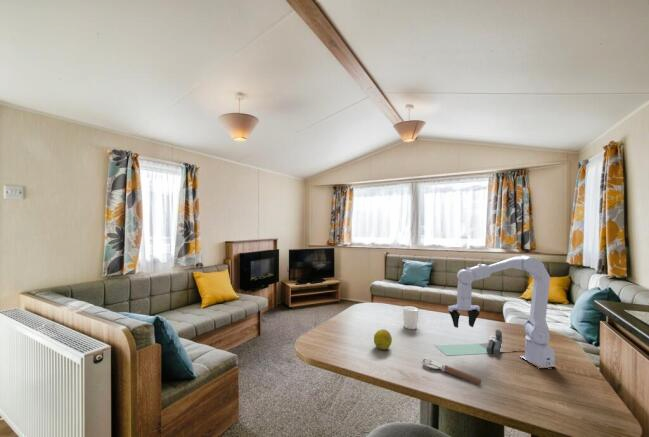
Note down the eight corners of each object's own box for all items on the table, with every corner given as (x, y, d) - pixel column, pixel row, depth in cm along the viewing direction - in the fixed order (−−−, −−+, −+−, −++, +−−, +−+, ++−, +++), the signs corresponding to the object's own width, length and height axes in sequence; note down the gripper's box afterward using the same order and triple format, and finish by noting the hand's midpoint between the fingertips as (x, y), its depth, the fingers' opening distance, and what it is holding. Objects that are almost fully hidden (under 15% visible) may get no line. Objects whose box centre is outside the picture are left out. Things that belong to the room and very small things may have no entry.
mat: (525, 351, 122) (525, 351, 122) (446, 355, 117) (446, 355, 117) (509, 342, 131) (509, 342, 131) (434, 345, 125) (434, 345, 125)
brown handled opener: (482, 383, 99) (482, 375, 99) (478, 391, 94) (479, 382, 94) (425, 361, 112) (426, 353, 112) (420, 367, 107) (420, 359, 107)
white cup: (416, 324, 151) (416, 306, 151) (419, 330, 143) (420, 311, 143) (401, 323, 152) (402, 305, 152) (404, 329, 144) (404, 310, 144)
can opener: (490, 339, 134) (490, 326, 134) (502, 342, 131) (503, 329, 131) (485, 353, 119) (485, 339, 119) (499, 357, 116) (499, 342, 116)
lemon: (386, 355, 115) (386, 336, 116) (369, 349, 120) (370, 331, 120) (395, 346, 124) (396, 328, 124) (379, 341, 129) (380, 324, 129)
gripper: (472, 293, 128) (471, 322, 128) (444, 294, 126) (443, 323, 126) (483, 298, 121) (482, 328, 121) (453, 298, 119) (453, 329, 119)
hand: (463, 326), depth 123 cm, fingers open, 7 cm apart
